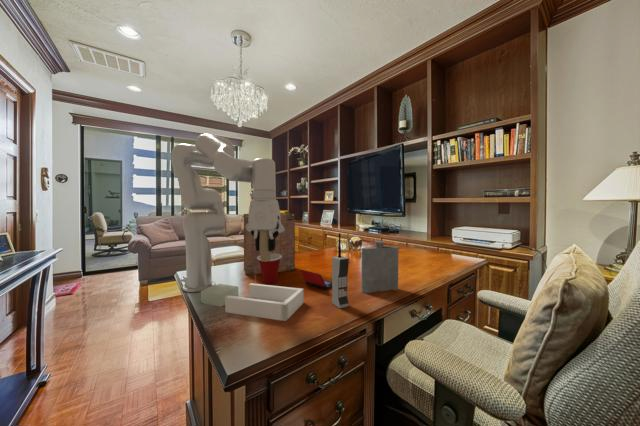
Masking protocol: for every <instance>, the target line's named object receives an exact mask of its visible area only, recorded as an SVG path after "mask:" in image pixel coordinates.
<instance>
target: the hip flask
mask: <svg viewBox="0 0 640 426" xmlns="http://www.w3.org/2000/svg"><path fill="white" fill-rule="evenodd" d="M374 244H375V246H369V247H361V272H360V275H361V276H360V277H361V281H360V282H361V285H360V287H361V289H360V290H361V293H363V294H371V293H377V291H379V292H387V290H396V291H398V290H399V253H400V252H399V246H398V245H396V246H395V245H393V246H392V245H384V244H385V241H384V240H375V241H374Z"/></svg>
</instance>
